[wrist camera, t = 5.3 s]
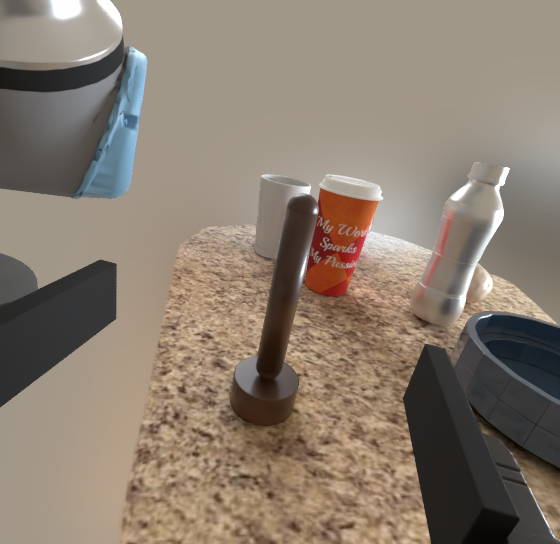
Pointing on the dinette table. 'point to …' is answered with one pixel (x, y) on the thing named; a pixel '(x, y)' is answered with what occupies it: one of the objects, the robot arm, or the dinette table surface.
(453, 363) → the bowl
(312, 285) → the coffee cup
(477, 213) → the silver water bottle
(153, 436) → the dinette table surface
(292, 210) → the wooden stamp handle
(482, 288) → the garlic bulb
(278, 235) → the cup
